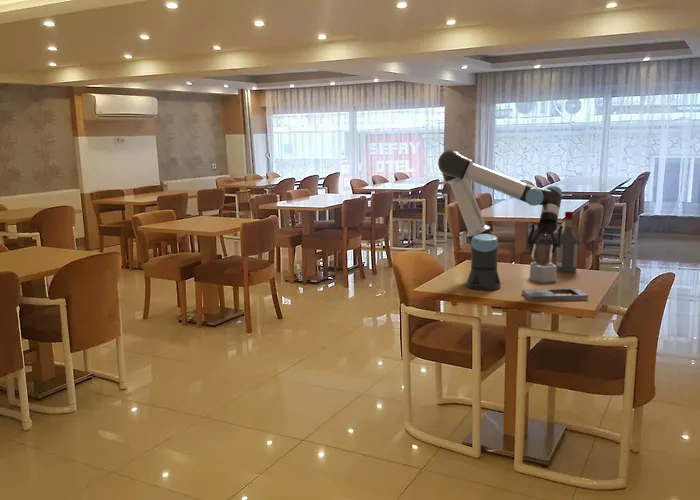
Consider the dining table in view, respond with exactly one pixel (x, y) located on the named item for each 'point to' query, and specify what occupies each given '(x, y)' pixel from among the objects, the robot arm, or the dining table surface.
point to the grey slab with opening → (554, 294)
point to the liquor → (567, 248)
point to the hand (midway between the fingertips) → (541, 258)
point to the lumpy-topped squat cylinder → (543, 272)
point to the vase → (542, 255)
